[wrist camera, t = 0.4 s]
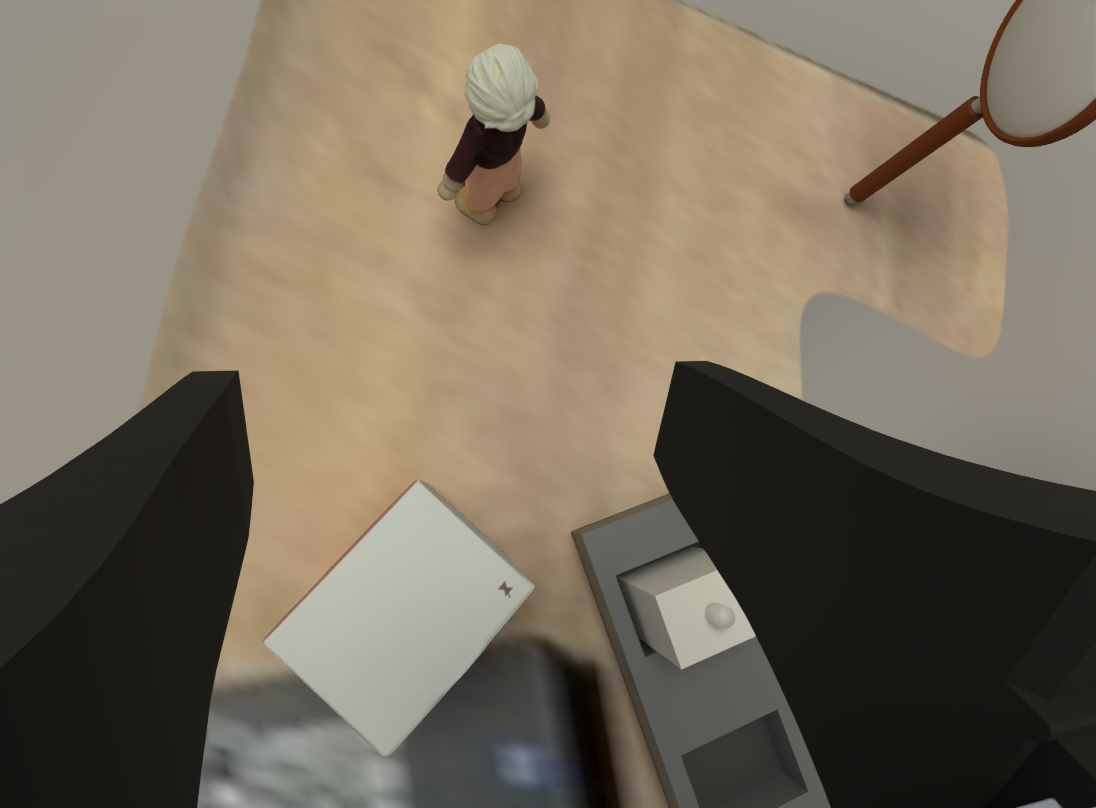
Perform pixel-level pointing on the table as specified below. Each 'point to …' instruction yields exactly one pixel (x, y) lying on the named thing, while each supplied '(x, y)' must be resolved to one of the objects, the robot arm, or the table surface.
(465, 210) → the grandmother figurine
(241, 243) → the table surface
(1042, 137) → the magnifying glass
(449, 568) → the small box
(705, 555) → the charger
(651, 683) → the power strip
